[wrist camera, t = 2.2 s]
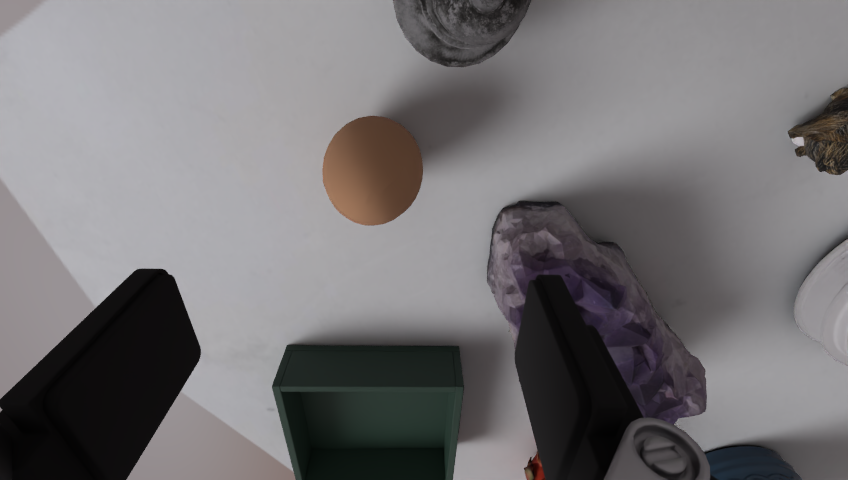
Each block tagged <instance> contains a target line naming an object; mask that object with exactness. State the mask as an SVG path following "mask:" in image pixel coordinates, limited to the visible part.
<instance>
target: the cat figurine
mask: <svg viewBox="0 0 848 480" xmlns="http://www.w3.org/2000/svg"><path fill="white" fill-rule="evenodd" d="M831 99H832V102H831V103H830V104H829V105H828V106H827V108H826V109H825V110H824V112H823V113H822V114H821V115H819V116H818V117H816V118H815V119H812V120H810V121H808V122H806V123H804V124H800V125H796V126H795V127H793V128H792V129H791V130H789V131H788V134H789V136H790V138H791V139H792V142H793V143H794V144H796V145H798V146H800V147H798V148H797V149H795V152H796V155H797V156H799V157H801V156H803V155H807V156H808V157H809V158H810V159H811V160H813V161H814V162H815V164H816V167H817V169H818V170H819V171H820V172H822V171H826V172H827V173H829V174H834V175H841V174H842V173H844V172H845V171H847V170H848V88H844V89H840V90H838V91H837V92H835V93H834V94H832V95H831Z"/></svg>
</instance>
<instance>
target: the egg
mask: <svg viewBox="0 0 848 480" xmlns="http://www.w3.org/2000/svg"><path fill="white" fill-rule="evenodd" d="M422 175H423V164H422V157H421V153H420V149H419V147H418V145H417V143H416V141H415V139H414V137H413V136H412V135H411V134H410V133H409V131H407V130H406V129H405V128H404V127H403V126H402V125H401V124H399V123H397V122H395V121H393V120H391V119H388V118H385V117H379V116H368V117H362V118H358V119H356V120H354V121H352V122H350V123H348V124H346V125H345V126H344V127H343V128H342V129H341V130H339V131H338V132H337V133H336V134H335V136H334V137H333V139H332V141H331V142H330V144H329V146H328V148H327V151H326V153H325V156H324V162H323V183H324V186H325V189H326V192H327V194H328V196H329V199H330V200H331V202H332V204H333V205H334V207H335V208H336V209H337V210H338V211H339V212H340V213H341V214H342V215H343V216H345V217H346V218H348V219H349V220H351V221H353V222H355V223H358V224H362V225H379V224H385V223H387V222H389V221H392V220H394V219H395V218H397V217H398V216H399V215H401V214H402V213H403V212H405V211H406V210H407V209H408V208H409V207H410V206H411V204H412V203H413V201H414V200H415V198H416V196H417V194H418V192H419V189H420V186H421V182H422Z"/></svg>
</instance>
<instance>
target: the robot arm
mask: <svg viewBox="0 0 848 480" xmlns="http://www.w3.org/2000/svg"><path fill="white" fill-rule="evenodd" d="M200 355H201V349H200V345H199V343H198V340H197V337H196V335H195V332H194V329H193V327H192V324H191V321H190V319H189V316H188V313H187V311H186V308H185V305H184V303H183V300H182V297H181V295H180V292H179V289H178V286H177V284H176V281H175V279H174V277H173V276H172V275H169V274H168V273H167V271H165V270H163V269H137V270H136V271H134V272H133V273H132V274H131V275H130V276H129V277H128V278H127V279H126V280H125V281H124V282H123V283H122V284H120V285H119V286H118V287H117V288H116V289H115V290H114V291H113V292H112V293H111V294H110V295H109V296H108V297H107V298H106V299H105V300H104V301H103V302H102V303H101V304H100V305H99V306H97V307H96V308H95V309H94V310H93V311H92V312H91V313H90V314H89V315H88V316H87V317H86V318H85V319H84V320H83V321H82V322H81V323H80V324H79V325H78V326H77V327H76V328H74V329H73V330H72V331H71V332H70V333H69V334H68V335H67V336H66V337H65V338H64V339H63V340H62V341H61V342H60V343H59V344H58V345H57V346H56V347H55V348H53V349H52V350H51V351H50V352H49V353H48V354H47V355H46V356H45V357H44V358H43V359H42V360H41V361H40V362H39V363H38V364H37V365H36V366H35V367H34V368H33V369H32V370H30V371H29V372H28V373H27V374H26V375H25V376H24V377H23V378H22V379H21V380H20V381H19V382H18V383H17V384H16V385H15V386H14V387H13V388H12V389H11V390H10V391H8V392H7V393H6V394H5V395H4V396H3V397H2V398H1V399H0V407H1V408H2V411H1V412H0V480H126V479H127V477H128V476H129V474H130V473H131V471H132V469H133V468H134V466H135V465H136V463H137V461H138V460H139V458H140V456H141V455H142V453H143V451H144V450H145V448H146V447H147V445H148V443H149V442H150V440H151V438H152V437H153V435H154V434H155V432H156V430H157V429H158V427H159V425H160V424H161V422H162V420H163V419H164V417H165V416H166V414H167V412H168V410H169V409H170V407H171V406H172V404H173V402H174V401H175V399H176V397H177V396H178V394H179V393H180V391H181V389H182V388H183V386H184V384H185V383H186V381H187V379H188V378H189V376H190V375H191V373H192V371H193V370H194V368H195V366H196V365H197V363H198V361H199V359H200ZM515 364H516V368H517V372H518V376H519V380H520V384H521V387H522V391H523V395H524V399H525V403H526V407H527V411H528V414H529V418H530V422H531V426H532V430H533V434H534V437H535V441H536V445H537V449H538V453H539V457H540V461H541V464H542V468H543V472H544V476H545V480H718V479H717V478H715V477H714V476H712V475H710V465H709V463H708V460H707V458H706V455H705V454H704V452H703V451H702V449H701V448H700V446H699V445H698V444H697V443H696V442H695V441H694V440H693V439H692V438H691V437H690V436H689V435H688V434H687V433H686V432H684V431H683V430H681V429H679V428H678V427H676V426H675V425H673V424H671V423H668V422H666V421H663V420H660V419H655V418H644V417H643V415H642V413H641V411H640V409H639V407H638V405H637V403H636V402H635V400H634V398H633V396H632V394H631V392H630V390H629V388H628V387H627V385H626V383H625V381H624V379H623V377H622V375H621V373H620V372H619V370H618V368H617V366H616V364H615V362H614V360H613V358H612V357H611V355H610V353H609V351H608V349H607V347H606V345H605V343H604V342H603V340H602V338H601V336H600V334H599V332H598V331H597V329H596V328H595V327H594V326H593V325H586V324H585V322H584V320H583V318H582V316H581V314H580V312H579V310H578V308H577V306H576V304H575V302H574V300H573V298H572V296H571V294H570V292H569V290H568V288H567V286H566V284H565V282H564V280H563V278H562V277H561V275H543V274H539V275H537V277H536V279H535V280H530V281H529V284H528V289H527V294H526V299H525V304H524V309H523V314H522V319H521V324H520V329H519V334H518V339H517V344H516V349H515Z"/></svg>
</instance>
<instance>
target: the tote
mask: <svg viewBox="0 0 848 480" xmlns="http://www.w3.org/2000/svg"><path fill="white" fill-rule="evenodd" d="M272 389H273V393H274V397H275V401H276V405H277V408H278V412H279V416H280V420H281V424H282V428H283V432H284V436H285V440H286V443H287V447H288V451H289V455H290V459H291V463H292V467H293V471H294V475H295V478H296V480H453V473H454V465H455V457H456V449H457V440H458V432H459V424H460V416H461V407H462V399H463V391H464V383H463V375H462V367H461V359H460V351H459V346H316V345H287V347H286V349H285V352H284V355H283V358H282V360H281V363H280V366H279V369H278V371H277V374H276V377H275V380H274V382H273V385H272Z"/></svg>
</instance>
